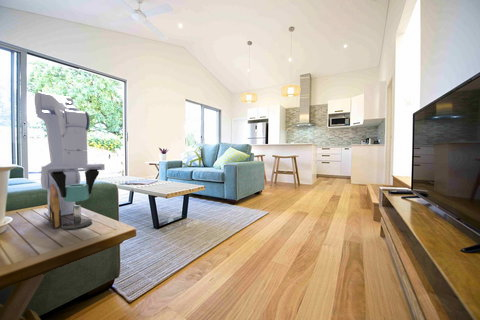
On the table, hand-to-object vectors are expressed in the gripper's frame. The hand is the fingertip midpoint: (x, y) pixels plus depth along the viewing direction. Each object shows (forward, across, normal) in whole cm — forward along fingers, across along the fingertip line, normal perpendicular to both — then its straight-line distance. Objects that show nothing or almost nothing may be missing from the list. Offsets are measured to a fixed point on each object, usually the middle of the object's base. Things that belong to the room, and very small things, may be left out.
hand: (76, 195), depth 60 cm
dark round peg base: (+9, 0, 0) cm, 9 cm away
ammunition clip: (+10, -4, +7) cm, 13 cm away
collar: (+1, 0, 0) cm, 1 cm away
